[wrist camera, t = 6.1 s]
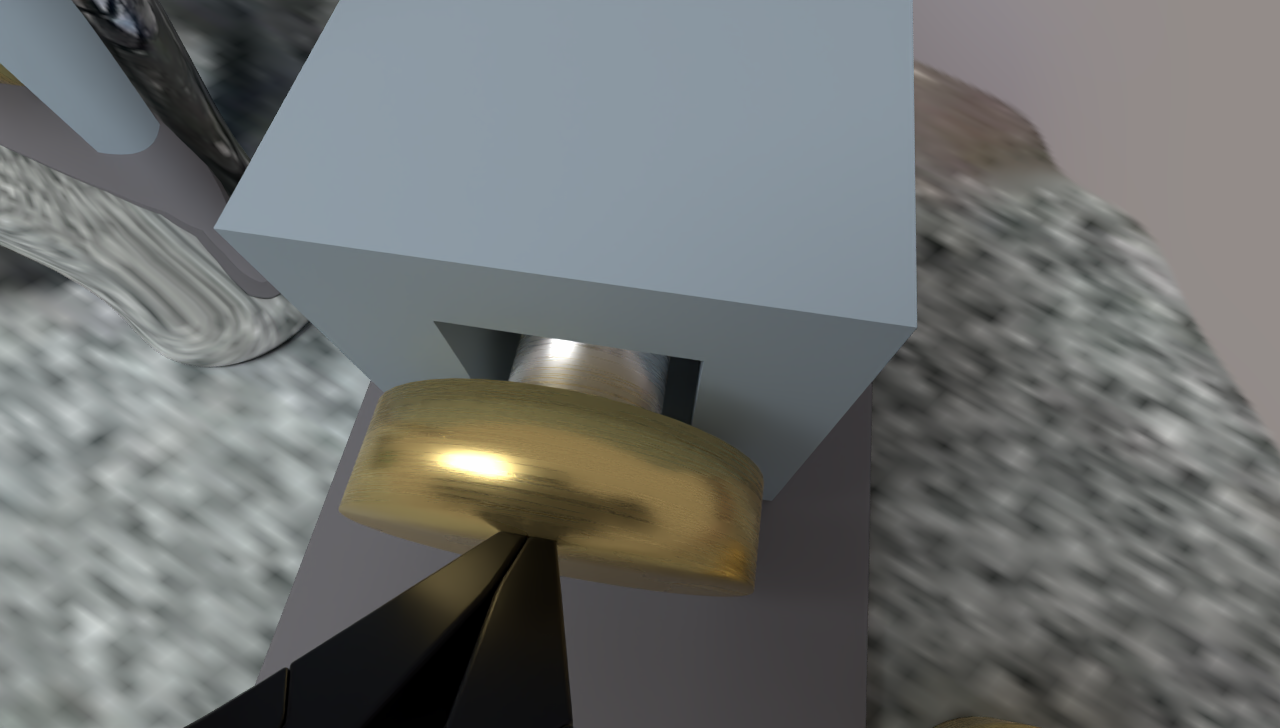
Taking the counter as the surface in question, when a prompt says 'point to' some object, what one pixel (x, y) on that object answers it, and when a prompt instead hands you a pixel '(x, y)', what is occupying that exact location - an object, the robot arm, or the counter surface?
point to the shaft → (564, 471)
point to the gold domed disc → (981, 723)
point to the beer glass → (128, 177)
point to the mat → (659, 607)
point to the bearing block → (605, 197)
